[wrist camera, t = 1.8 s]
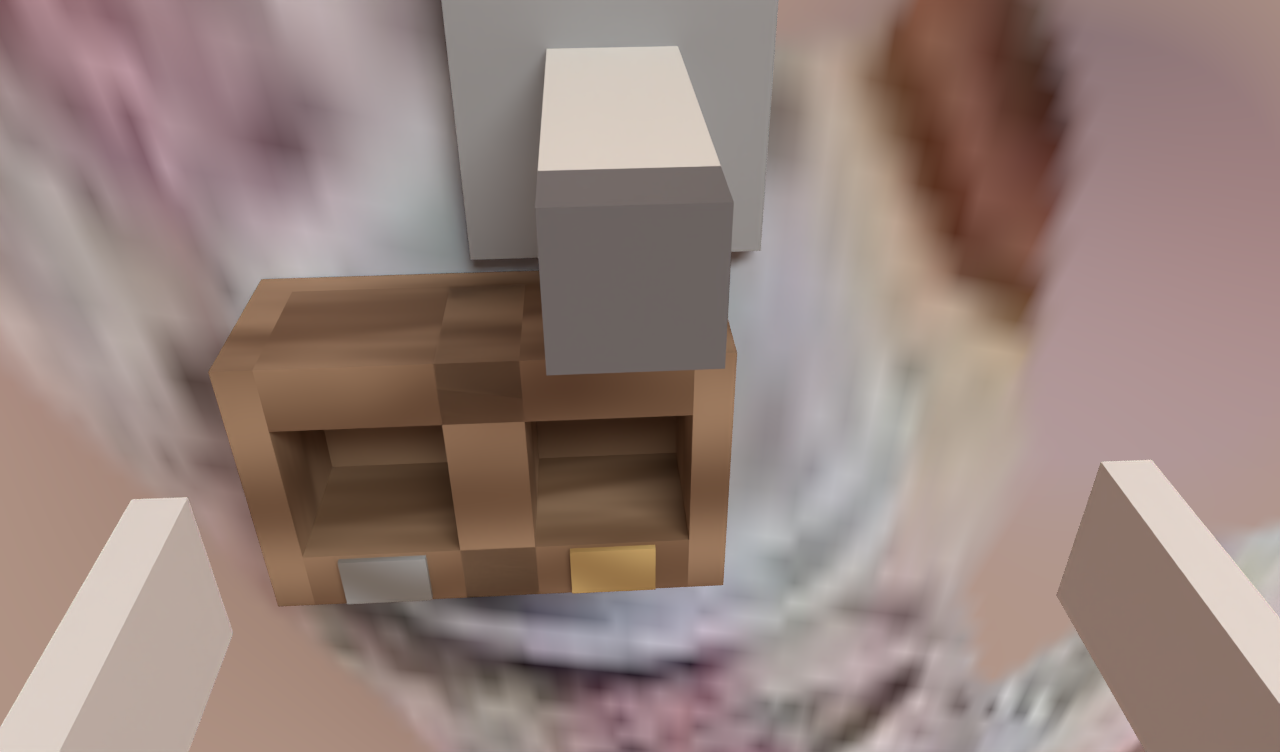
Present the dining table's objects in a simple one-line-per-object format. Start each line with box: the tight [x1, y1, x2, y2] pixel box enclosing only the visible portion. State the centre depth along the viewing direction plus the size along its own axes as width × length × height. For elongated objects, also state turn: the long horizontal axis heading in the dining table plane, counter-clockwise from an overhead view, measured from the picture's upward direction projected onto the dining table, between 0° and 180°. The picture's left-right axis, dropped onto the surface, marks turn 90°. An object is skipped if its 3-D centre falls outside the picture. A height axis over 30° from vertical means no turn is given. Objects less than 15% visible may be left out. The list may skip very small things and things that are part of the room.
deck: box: [441, 0, 778, 260], centre depth 31 cm, size 10×10×1 cm
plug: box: [535, 46, 734, 375], centre depth 25 cm, size 4×4×12 cm
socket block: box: [208, 271, 737, 606], centre depth 35 cm, size 10×16×6 cm, turn 90°
